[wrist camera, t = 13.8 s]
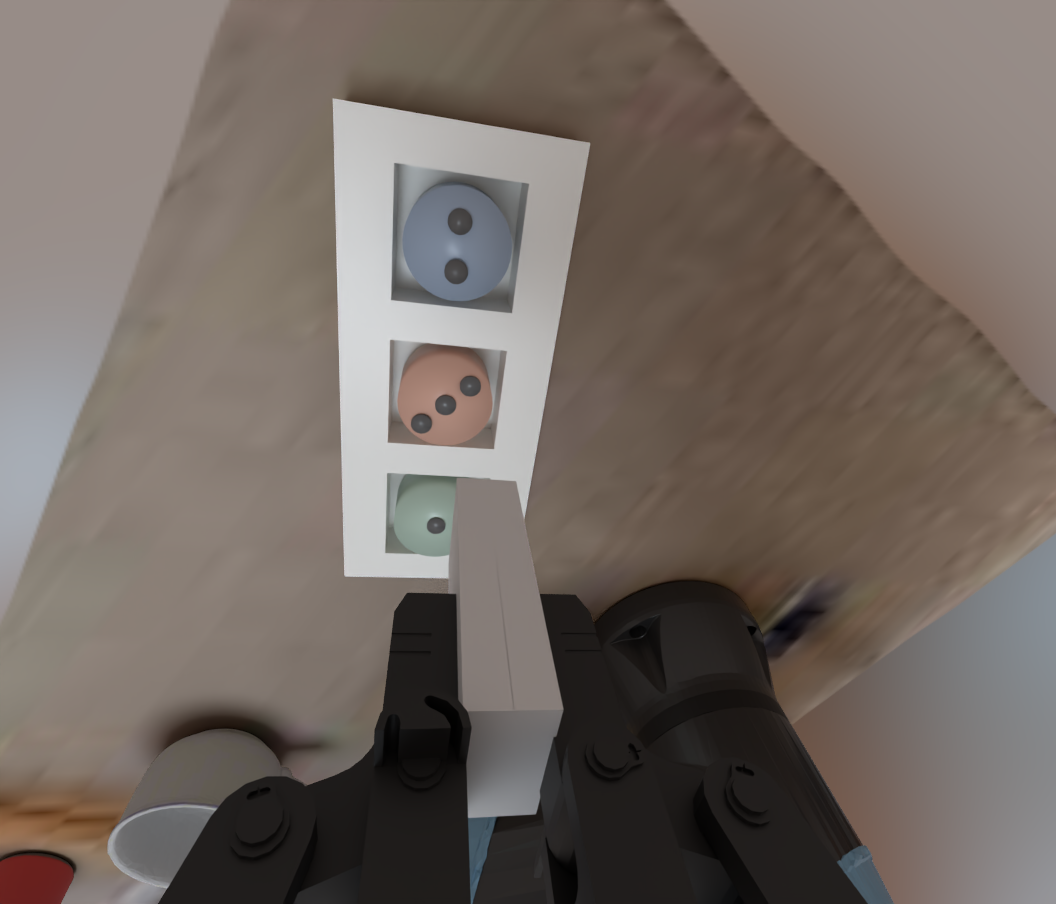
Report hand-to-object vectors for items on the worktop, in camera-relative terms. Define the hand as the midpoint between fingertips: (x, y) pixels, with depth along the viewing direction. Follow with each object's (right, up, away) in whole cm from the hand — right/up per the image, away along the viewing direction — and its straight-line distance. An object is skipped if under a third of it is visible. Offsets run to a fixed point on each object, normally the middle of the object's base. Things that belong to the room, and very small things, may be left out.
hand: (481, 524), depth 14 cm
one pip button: (-5, -1, +21) cm, 22 cm away
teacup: (-23, -24, +33) cm, 47 cm away
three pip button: (-4, +6, +17) cm, 19 cm away
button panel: (-4, +6, +18) cm, 19 cm away
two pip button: (-2, +13, +13) cm, 19 cm away
